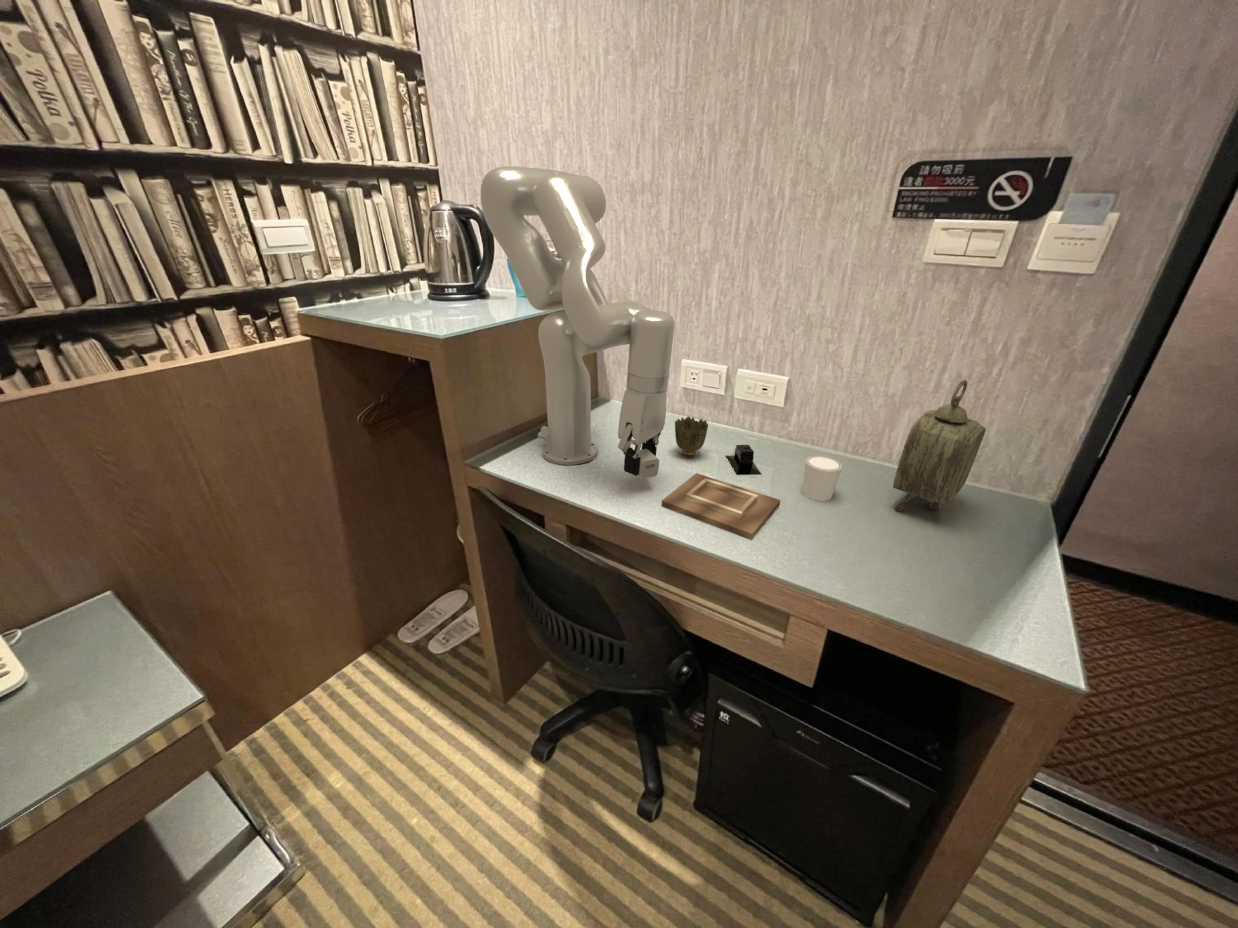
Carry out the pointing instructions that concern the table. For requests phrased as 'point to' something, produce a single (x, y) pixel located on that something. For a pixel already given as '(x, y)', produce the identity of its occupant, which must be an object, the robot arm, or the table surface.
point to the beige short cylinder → (820, 477)
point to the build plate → (743, 461)
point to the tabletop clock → (939, 453)
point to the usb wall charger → (648, 464)
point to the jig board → (722, 505)
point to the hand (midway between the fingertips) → (639, 466)
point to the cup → (690, 435)
